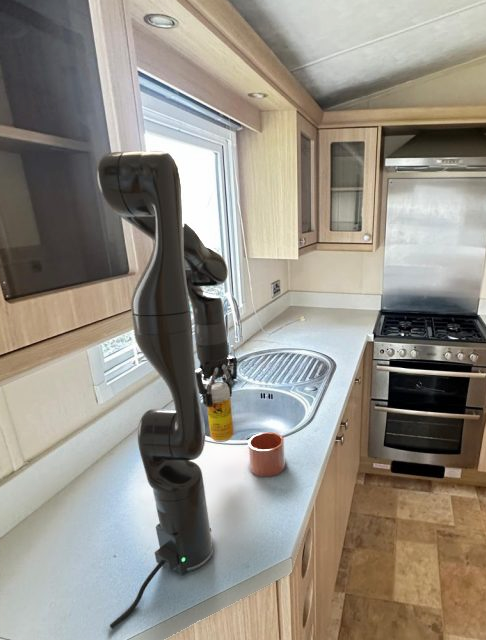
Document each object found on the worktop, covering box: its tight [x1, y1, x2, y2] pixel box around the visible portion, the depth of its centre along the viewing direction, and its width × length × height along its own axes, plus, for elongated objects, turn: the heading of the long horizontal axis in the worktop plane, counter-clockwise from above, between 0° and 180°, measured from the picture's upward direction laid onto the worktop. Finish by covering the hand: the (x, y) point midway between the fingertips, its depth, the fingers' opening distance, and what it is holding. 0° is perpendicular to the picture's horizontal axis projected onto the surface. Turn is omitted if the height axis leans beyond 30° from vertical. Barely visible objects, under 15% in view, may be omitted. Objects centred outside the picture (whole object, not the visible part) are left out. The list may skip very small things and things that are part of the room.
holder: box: [247, 431, 286, 477], centre depth 112 cm, size 10×10×8 cm
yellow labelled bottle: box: [206, 381, 235, 443], centre depth 106 cm, size 6×6×15 cm
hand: (218, 401), depth 105 cm, fingers closed on yellow labelled bottle, 6 cm apart
